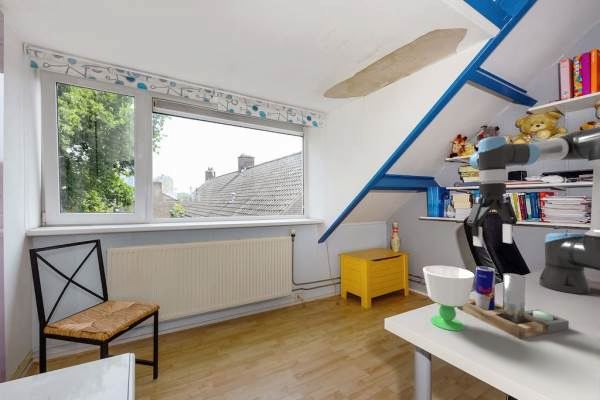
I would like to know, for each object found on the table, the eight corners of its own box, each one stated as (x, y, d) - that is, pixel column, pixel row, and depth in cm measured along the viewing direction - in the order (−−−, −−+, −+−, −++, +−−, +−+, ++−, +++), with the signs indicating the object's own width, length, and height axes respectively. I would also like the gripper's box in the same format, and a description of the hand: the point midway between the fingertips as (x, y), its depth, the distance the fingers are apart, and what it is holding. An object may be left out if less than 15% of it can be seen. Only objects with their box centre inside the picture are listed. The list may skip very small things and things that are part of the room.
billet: (511, 321, 81) (511, 272, 81) (528, 329, 76) (529, 277, 76) (498, 323, 80) (499, 274, 80) (515, 331, 75) (516, 279, 75)
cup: (442, 337, 72) (442, 279, 72) (413, 314, 86) (413, 266, 85) (486, 333, 74) (487, 277, 74) (451, 312, 88) (451, 264, 88)
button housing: (537, 317, 84) (537, 309, 84) (568, 329, 76) (568, 320, 76) (518, 320, 82) (518, 312, 82) (548, 333, 74) (548, 324, 74)
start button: (539, 317, 82) (539, 310, 82) (556, 324, 78) (556, 316, 78) (529, 319, 81) (529, 311, 81) (545, 326, 76) (545, 318, 76)
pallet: (482, 304, 94) (482, 297, 94) (548, 333, 74) (548, 324, 74) (457, 308, 91) (457, 300, 91) (519, 338, 71) (519, 329, 71)
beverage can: (479, 315, 85) (480, 269, 85) (472, 309, 90) (473, 265, 90) (497, 317, 84) (498, 270, 84) (489, 310, 89) (490, 266, 89)
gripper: (507, 182, 98) (508, 239, 98) (454, 183, 91) (455, 245, 92) (530, 181, 91) (530, 243, 91) (473, 182, 84) (474, 249, 84)
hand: (492, 244), depth 91 cm, fingers open, 13 cm apart
